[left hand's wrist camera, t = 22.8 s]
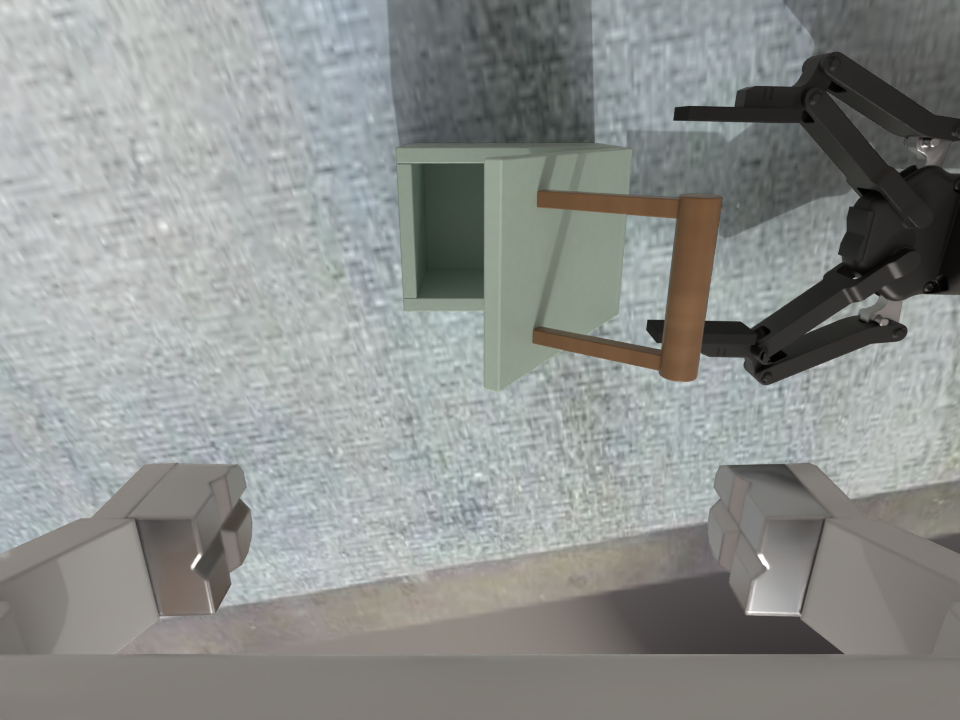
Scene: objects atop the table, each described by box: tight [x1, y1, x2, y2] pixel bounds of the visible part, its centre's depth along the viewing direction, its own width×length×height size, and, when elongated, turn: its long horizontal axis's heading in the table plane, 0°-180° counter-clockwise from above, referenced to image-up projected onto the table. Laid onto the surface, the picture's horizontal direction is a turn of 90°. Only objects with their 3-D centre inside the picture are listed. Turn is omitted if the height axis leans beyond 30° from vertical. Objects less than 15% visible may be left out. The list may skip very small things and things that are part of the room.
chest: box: [396, 143, 619, 311], centre depth 40 cm, size 13×10×9 cm
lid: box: [484, 147, 723, 392], centre depth 28 cm, size 14×10×8 cm
